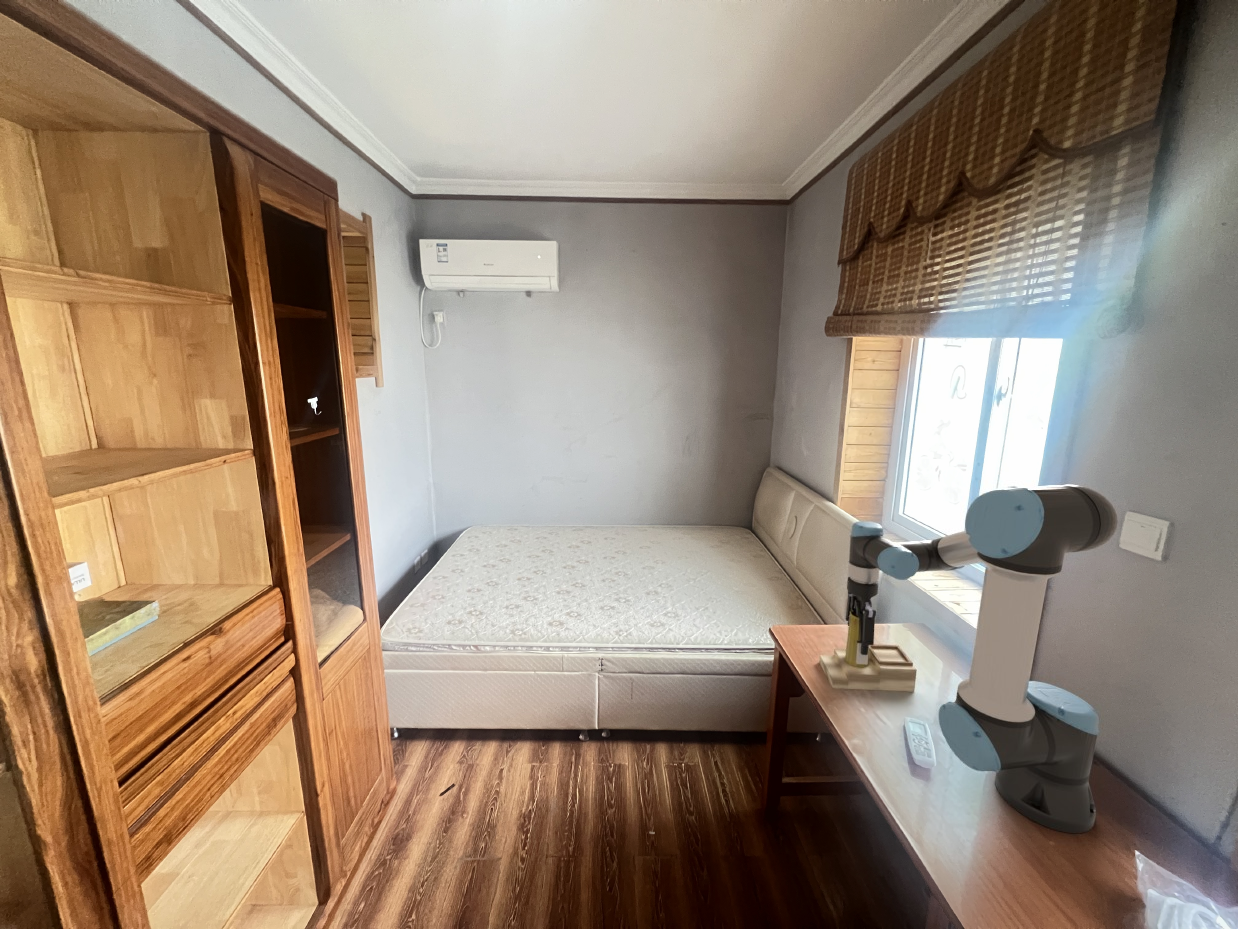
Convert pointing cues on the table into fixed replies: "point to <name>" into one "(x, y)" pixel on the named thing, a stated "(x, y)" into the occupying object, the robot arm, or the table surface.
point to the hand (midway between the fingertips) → (856, 656)
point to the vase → (853, 641)
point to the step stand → (872, 670)
